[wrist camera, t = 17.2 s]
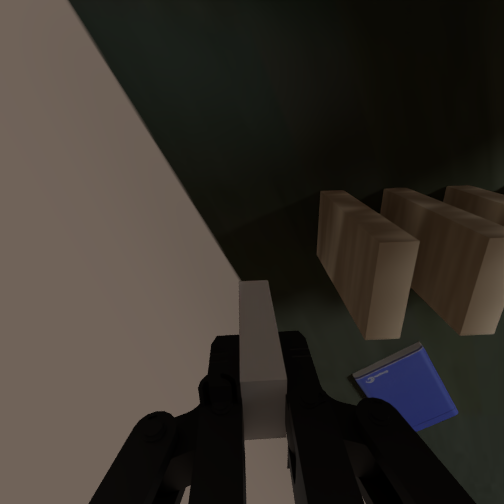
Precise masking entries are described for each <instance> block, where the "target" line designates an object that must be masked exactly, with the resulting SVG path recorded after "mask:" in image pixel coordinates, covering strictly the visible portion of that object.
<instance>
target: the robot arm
mask: <svg viewBox="0 0 504 504" xmlns="http://www.w3.org/2000/svg"><path fill="white" fill-rule="evenodd" d="M239 328H240V329H239V335H225V336H217V337H216V338H215V340H214V341H213V343H212V344H211V353H210V360H209V368H208V375H206V376H205V377H204V378H203V379H202V380H201V382H200V384H199V387H198V390H199V398H200V404H199V405H198V406H197V407H196V408H195V409H194V410H192V411H190V412H188V413H186V414H183V415H180V416H177V417H173V416H172V415H171V414H170V413H167V412H165V411H159V412H158V411H157V412H154V413H151V414H148V415H146V416H145V417H143V418H142V419H141V420H140V421H139V422H138V423H137V425H135V427H134V428H133V430H132V432H131V433H130V435H129V437H128V439H127V440H126V442H125V443H124V445H123V447H122V449H121V450H120V452H119V453H118V455H117V457H116V458H115V460H114V462H113V464H112V465H111V467H110V469H109V470H108V472H107V474H106V475H105V477H104V479H103V480H102V482H101V484H100V485H99V487H98V489H97V490H96V492H95V494H94V496H93V497H92V499H91V501H90V502H89V504H180V502H181V499H182V497H183V494H184V491H185V488H186V487H187V486H190V485H191V488H190V496H189V503H188V504H246V476H245V475H246V474H245V448H244V440H252V439H268V438H283V437H286V434H287V440H288V466H287V468H290V472H291V479H292V485H293V492H294V499H295V504H364V501H365V502H366V504H476V503H475V502H474V500H473V499H472V498H471V497H470V496H469V495H468V493H467V492H466V491H465V490H464V489H463V487H462V486H461V485H460V484H459V483H458V482H457V480H456V479H455V478H454V477H453V476H452V474H451V473H450V472H449V471H448V470H447V468H446V467H445V466H444V465H443V464H442V463H441V461H440V460H439V459H438V458H437V457H436V455H435V454H434V453H433V452H432V451H431V449H430V448H429V447H428V446H427V445H426V444H425V442H424V441H423V440H422V439H421V438H420V436H419V435H418V434H417V433H416V432H415V431H414V429H413V428H412V427H411V426H410V425H409V423H408V422H407V421H406V420H405V419H404V417H403V416H402V415H401V414H400V413H399V412H398V410H397V409H396V408H394V407H393V406H392V405H391V404H390V403H388V402H386V401H384V400H382V399H379V398H374V397H371V398H365V399H363V400H361V401H359V403H358V405H357V406H355V405H351V404H347V403H342V402H339V401H336V400H335V399H333V398H331V397H330V396H328V395H327V394H326V392H325V391H324V390H323V389H322V387H321V385H320V383H319V379H318V376H317V373H316V370H315V367H314V364H313V360H312V357H311V354H310V351H309V349H308V345H307V342H306V338H305V337H304V336H303V335H302V334H301V333H300V332H299V331H285V332H278V330H277V325H276V319H275V314H274V309H273V304H272V299H271V294H270V289H269V283H268V280H259V281H239ZM362 497H363V498H362ZM363 499H364V501H363Z"/></svg>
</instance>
